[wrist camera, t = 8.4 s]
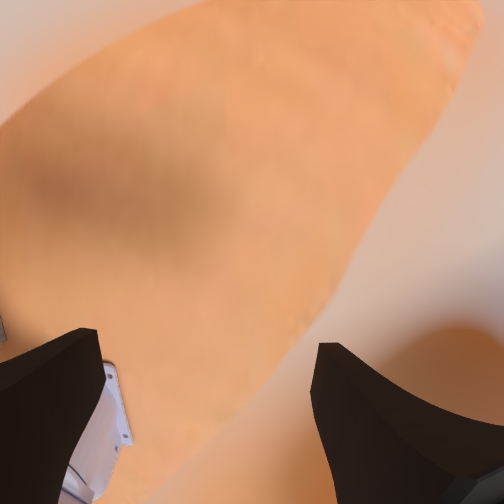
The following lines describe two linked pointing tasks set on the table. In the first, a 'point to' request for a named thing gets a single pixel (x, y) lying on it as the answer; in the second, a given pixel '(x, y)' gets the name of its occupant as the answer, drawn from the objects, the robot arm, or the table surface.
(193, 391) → the table surface
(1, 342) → the plate
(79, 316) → the table surface
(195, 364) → the table surface
